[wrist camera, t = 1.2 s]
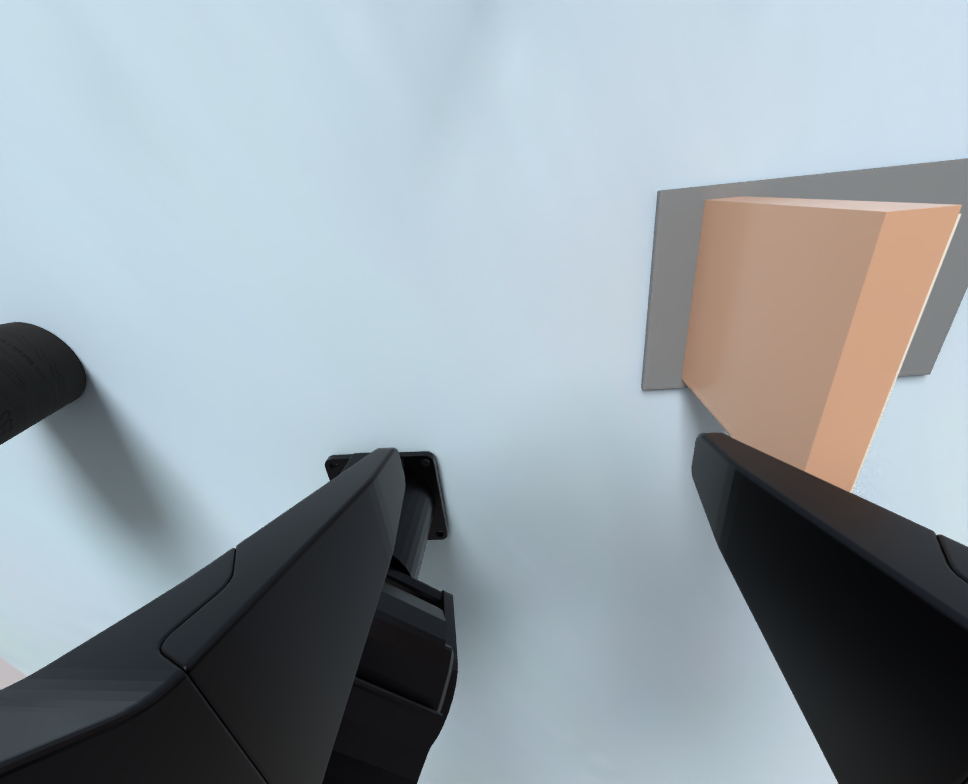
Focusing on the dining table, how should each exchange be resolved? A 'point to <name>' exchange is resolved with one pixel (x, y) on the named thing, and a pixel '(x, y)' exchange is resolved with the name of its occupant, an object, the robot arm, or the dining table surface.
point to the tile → (809, 320)
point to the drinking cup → (34, 377)
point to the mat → (887, 184)
